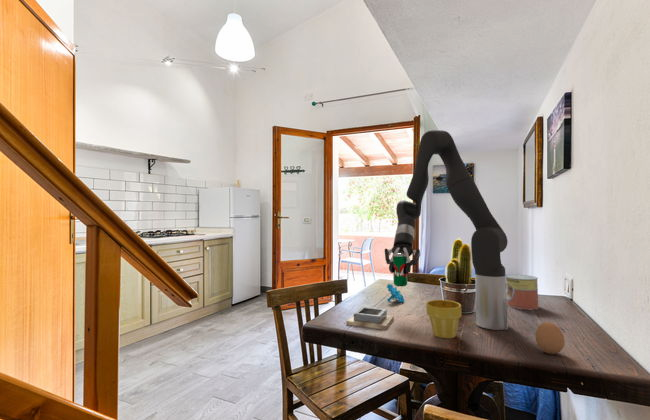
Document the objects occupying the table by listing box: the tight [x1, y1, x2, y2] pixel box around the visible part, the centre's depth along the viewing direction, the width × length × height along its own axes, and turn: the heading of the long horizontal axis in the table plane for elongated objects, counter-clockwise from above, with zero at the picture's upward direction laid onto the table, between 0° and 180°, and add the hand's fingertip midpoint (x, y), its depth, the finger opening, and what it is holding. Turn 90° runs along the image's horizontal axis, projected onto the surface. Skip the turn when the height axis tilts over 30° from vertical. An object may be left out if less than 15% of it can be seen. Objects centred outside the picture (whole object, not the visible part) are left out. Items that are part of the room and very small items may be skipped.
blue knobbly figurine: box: [386, 283, 405, 304], centre depth 144 cm, size 11×6×10 cm
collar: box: [353, 306, 388, 324], centre depth 115 cm, size 9×9×2 cm
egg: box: [535, 321, 566, 355], centre depth 87 cm, size 6×6×8 cm
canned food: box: [505, 274, 539, 311], centre depth 133 cm, size 11×11×12 cm
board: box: [345, 314, 395, 331], centre depth 115 cm, size 14×12×1 cm
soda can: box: [392, 253, 408, 287], centre depth 121 cm, size 5×5×12 cm
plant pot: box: [425, 299, 462, 339], centre depth 101 cm, size 10×10×10 cm
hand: (399, 272), depth 119 cm, fingers closed on soda can, 5 cm apart
